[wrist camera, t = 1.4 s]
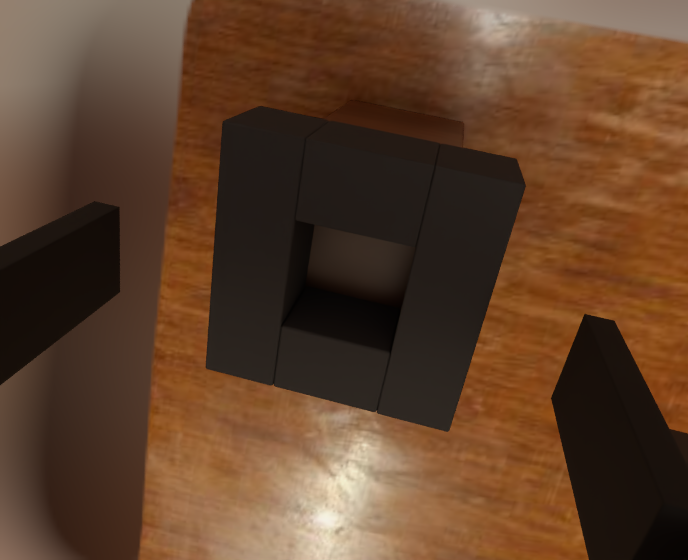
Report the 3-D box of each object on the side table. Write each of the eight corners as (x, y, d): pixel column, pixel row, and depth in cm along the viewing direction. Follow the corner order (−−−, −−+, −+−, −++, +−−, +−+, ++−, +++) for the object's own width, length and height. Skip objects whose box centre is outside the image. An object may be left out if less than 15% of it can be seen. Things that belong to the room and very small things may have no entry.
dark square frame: (258, 105, 18) (221, 120, 15) (517, 158, 17) (526, 184, 14) (238, 325, 21) (204, 369, 19) (451, 378, 20) (448, 432, 18)
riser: (350, 99, 25) (303, 131, 18) (464, 122, 24) (462, 164, 17) (326, 245, 28) (278, 323, 21) (427, 269, 27) (413, 356, 20)
